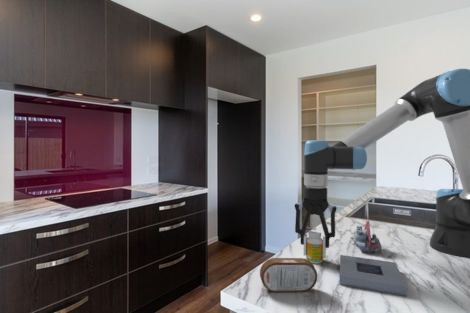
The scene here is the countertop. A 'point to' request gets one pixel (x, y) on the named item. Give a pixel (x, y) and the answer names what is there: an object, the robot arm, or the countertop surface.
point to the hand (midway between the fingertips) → (314, 255)
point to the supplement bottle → (314, 247)
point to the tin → (288, 275)
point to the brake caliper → (366, 240)
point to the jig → (372, 275)
